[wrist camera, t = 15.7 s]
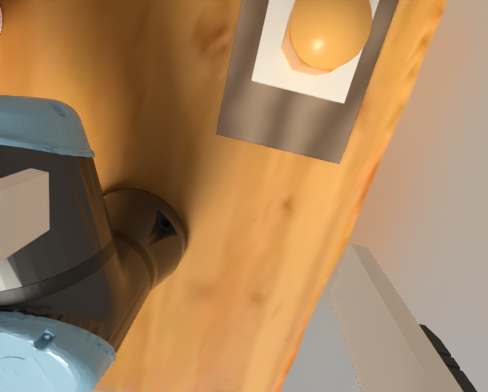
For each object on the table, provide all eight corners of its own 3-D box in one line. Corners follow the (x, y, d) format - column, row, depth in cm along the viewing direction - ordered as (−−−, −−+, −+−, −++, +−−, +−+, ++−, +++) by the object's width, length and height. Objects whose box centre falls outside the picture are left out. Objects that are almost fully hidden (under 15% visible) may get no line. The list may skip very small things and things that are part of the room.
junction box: (252, 81, 34) (249, 78, 25) (275, -19, 30) (280, -61, 22) (335, 101, 34) (359, 106, 25) (366, 4, 30) (407, -28, 22)
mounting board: (217, 132, 37) (216, 134, 36) (263, -103, 29) (263, -113, 28) (336, 161, 38) (339, 164, 36) (416, -63, 29) (423, -70, 28)
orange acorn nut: (276, 66, 29) (281, 58, 22) (292, 0, 27) (303, -33, 20) (331, 80, 29) (355, 76, 22) (351, 15, 27) (385, -12, 20)
